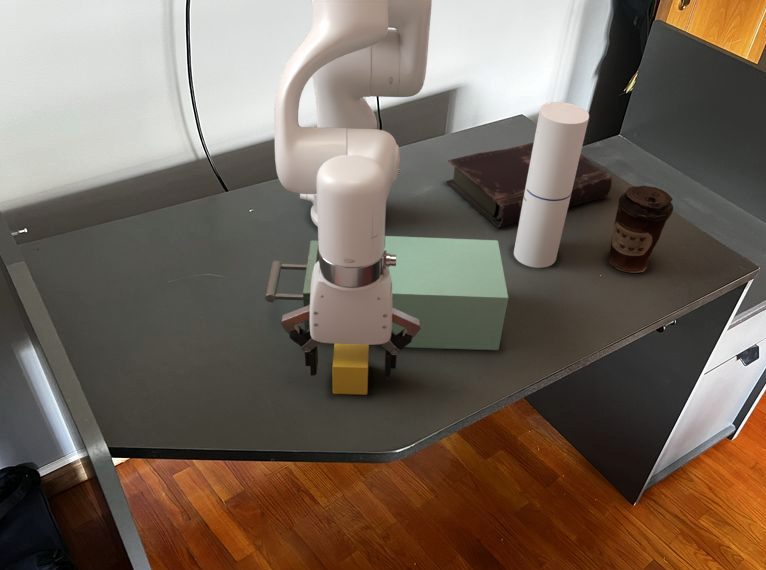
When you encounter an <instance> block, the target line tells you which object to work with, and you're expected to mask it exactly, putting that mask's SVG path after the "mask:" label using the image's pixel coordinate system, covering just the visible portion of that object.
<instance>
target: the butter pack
mask: <svg viewBox="0 0 766 570" xmlns="http://www.w3.org/2000/svg"><path fill="white" fill-rule="evenodd" d="M333 344H334V345H333V347H334V348H333V356H332V367H331V368H332V394H333V395H363V396H367V395H368V388H369V387H368V386H369V385H368V384H369V357H370V354H369V353H370V345H369V344H335V343H333Z"/></svg>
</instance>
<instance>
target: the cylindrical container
mask: <svg viewBox="0 0 766 570" xmlns="http://www.w3.org/2000/svg"><path fill="white" fill-rule="evenodd" d="M589 119H590V113H589V112H588V111H587V110H586V109H585V108H583V107H581V106H579V105H576V104H573V103H569V102H563V101H552V102H547V103H545V104H543V105H541V106H540V108H539V112H538V117H537V123H536V129H535V134H534V139H533V142H534V144H533V150H532V155H531V160H530V166H529V171H528V176H527V182H526V187H525V193H524V198H523V204H522V209H521V215H520V220H519V221H518V227H517V231H516V237H515V241H514V242H515V243H514V249H513V257H514V258H515V259H516V260H517V261H518V262H519V263H520V264H522V265H524V266H527V267H530V268H536V269H542V268H548V267H551V266H552V265H553V264H554V263H555V262H556V261H557V257H558V252H559V248H560V244H561V239H562V235H563V231H564V227H565V223H566V219H567V213H568V210H569V207H568V206H569V201H570V197H571V192H572V188H573V184H574V180H575V175H576V171H577V167H578V162H579V158H580V154H582V149H583V144H584V140H585V137H586V132H587V127H588V124H589V121H590V120H589Z"/></svg>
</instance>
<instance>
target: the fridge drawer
mask: <svg viewBox="0 0 766 570" xmlns="http://www.w3.org/2000/svg"><path fill="white" fill-rule="evenodd" d="M384 251H385V246H384ZM318 261H319V245H318V240H310V242H309V249H308V257H307V262H306V264H298V263H296V264H295V263H282V262H281V261H280V260H274V261H272V263H271V267H270V271H269V276H268V280H267V281H268V282H267V286H266V290H265V296H264V299H265V301H266V302H267V303H273V302H275V301H276V300H279V301H280V300H282V301H302V303H303V304H302V305H303V307H305V306H308V305H310V291H311V280H312V273H313V269H314V265H315V264H316V263H317V262H318ZM282 270H290V271H291V270H292V271H293V270H294V271H305V276H304V283H303V290H302V294H301V293H300V294H299V293H297V294H296V293H278V287H279V282H280V278H281V277H280V276H281V271H282ZM303 323H304V330H305V331H307V330H308V329H309V328H310V319H309V320H307V321H304V322H303Z"/></svg>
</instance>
